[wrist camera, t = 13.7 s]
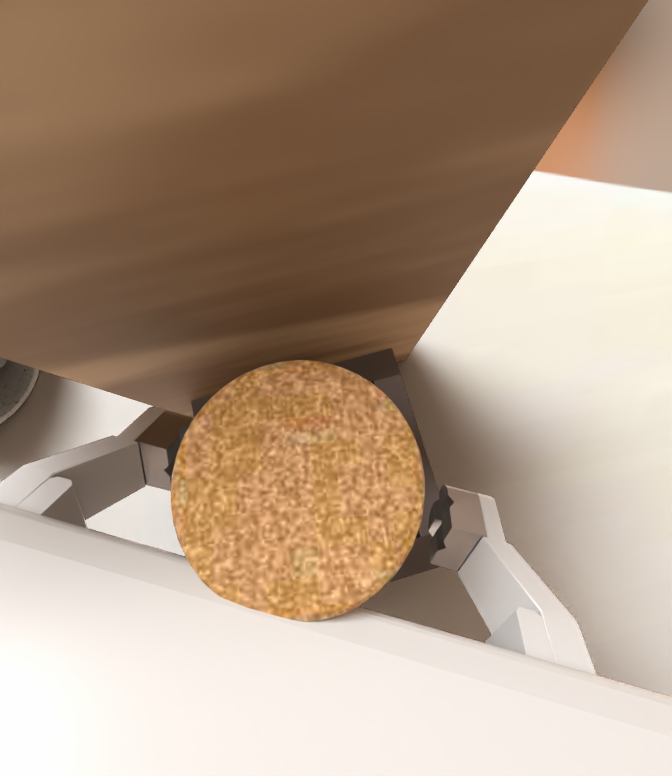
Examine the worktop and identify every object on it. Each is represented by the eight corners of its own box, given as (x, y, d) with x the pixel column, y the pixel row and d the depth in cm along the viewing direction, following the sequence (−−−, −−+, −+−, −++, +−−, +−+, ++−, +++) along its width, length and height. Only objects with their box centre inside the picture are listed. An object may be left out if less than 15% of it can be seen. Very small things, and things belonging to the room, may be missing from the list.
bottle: (263, 507, 21) (86, 613, 6) (290, 410, 22) (196, 302, 7) (360, 532, 20) (426, 710, 6) (382, 433, 22) (482, 368, 7)
